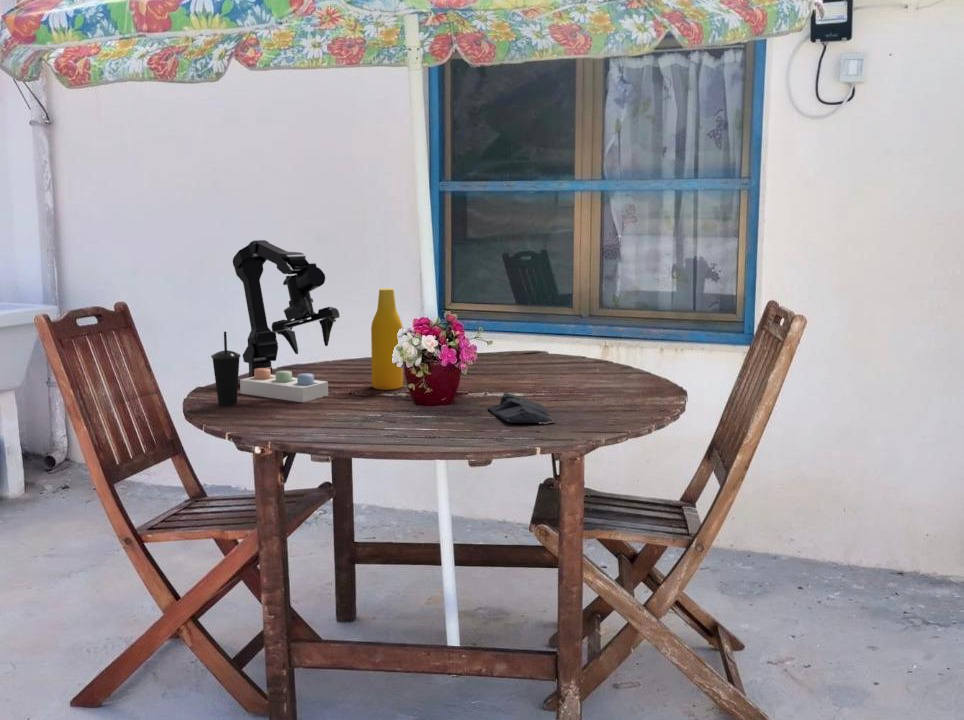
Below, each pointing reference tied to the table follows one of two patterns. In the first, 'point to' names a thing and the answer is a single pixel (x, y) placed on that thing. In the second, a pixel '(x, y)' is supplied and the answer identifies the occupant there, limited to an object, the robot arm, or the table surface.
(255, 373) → the button terracotta
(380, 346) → the beer bottle
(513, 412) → the dark slate chunk
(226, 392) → the drinking cup
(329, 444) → the table surface
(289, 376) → the button sage
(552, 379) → the table surface
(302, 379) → the button slate
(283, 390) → the console
